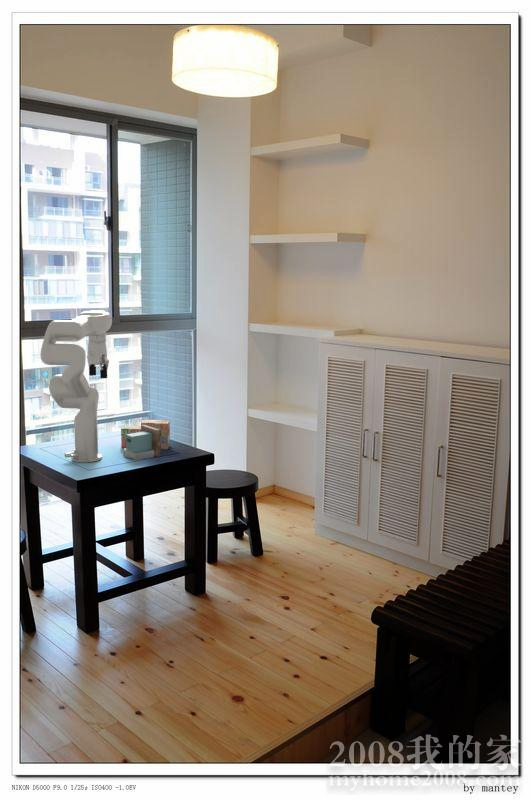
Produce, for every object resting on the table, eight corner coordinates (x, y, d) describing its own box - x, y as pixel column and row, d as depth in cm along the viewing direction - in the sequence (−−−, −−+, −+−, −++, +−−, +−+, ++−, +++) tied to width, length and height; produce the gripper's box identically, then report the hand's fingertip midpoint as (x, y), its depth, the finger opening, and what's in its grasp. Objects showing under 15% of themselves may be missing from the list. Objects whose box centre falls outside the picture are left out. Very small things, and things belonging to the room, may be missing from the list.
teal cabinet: (130, 452, 321) (130, 437, 320) (124, 450, 324) (124, 434, 323) (151, 448, 328) (151, 433, 327) (145, 446, 332) (145, 431, 330)
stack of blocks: (121, 448, 340) (120, 422, 337) (124, 444, 346) (123, 418, 344) (167, 449, 339) (167, 423, 337) (170, 446, 345) (169, 420, 343)
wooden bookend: (137, 460, 320) (136, 433, 317) (122, 455, 328) (121, 428, 326) (160, 456, 327) (160, 429, 325) (145, 450, 336) (144, 424, 334)
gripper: (80, 337, 336) (81, 375, 340) (99, 341, 324) (100, 380, 327) (95, 336, 341) (96, 373, 345) (114, 340, 329) (115, 378, 332)
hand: (98, 376), depth 336 cm, fingers open, 9 cm apart
